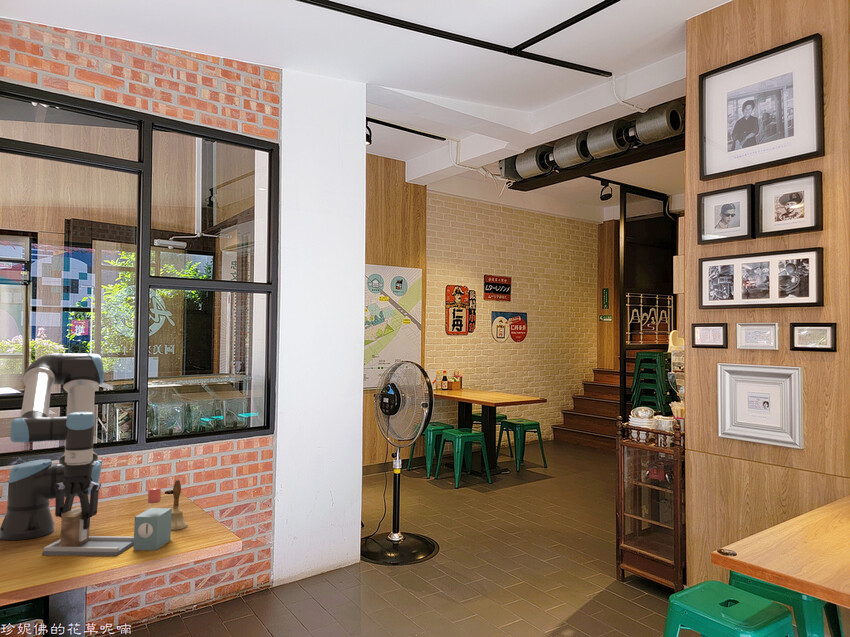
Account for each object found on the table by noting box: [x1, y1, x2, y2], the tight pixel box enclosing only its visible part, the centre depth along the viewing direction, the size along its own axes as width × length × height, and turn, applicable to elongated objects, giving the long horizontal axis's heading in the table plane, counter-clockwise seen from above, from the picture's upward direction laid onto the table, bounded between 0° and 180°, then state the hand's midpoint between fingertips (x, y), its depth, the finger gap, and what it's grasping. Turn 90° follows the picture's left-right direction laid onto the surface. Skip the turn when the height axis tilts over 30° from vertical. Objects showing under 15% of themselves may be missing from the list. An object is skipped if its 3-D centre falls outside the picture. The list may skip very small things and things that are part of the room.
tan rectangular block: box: [60, 506, 90, 547], centre depth 178 cm, size 4×8×10 cm, turn 0°
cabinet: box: [133, 507, 173, 551], centre depth 181 cm, size 7×11×10 cm, turn 0°
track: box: [41, 535, 134, 557], centre depth 177 cm, size 22×12×2 cm, turn 90°
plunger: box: [147, 487, 162, 504], centre depth 182 cm, size 4×4×4 cm
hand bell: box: [171, 479, 189, 531], centre depth 201 cm, size 8×8×16 cm
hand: (75, 539), depth 178 cm, fingers closed on tan rectangular block, 4 cm apart
